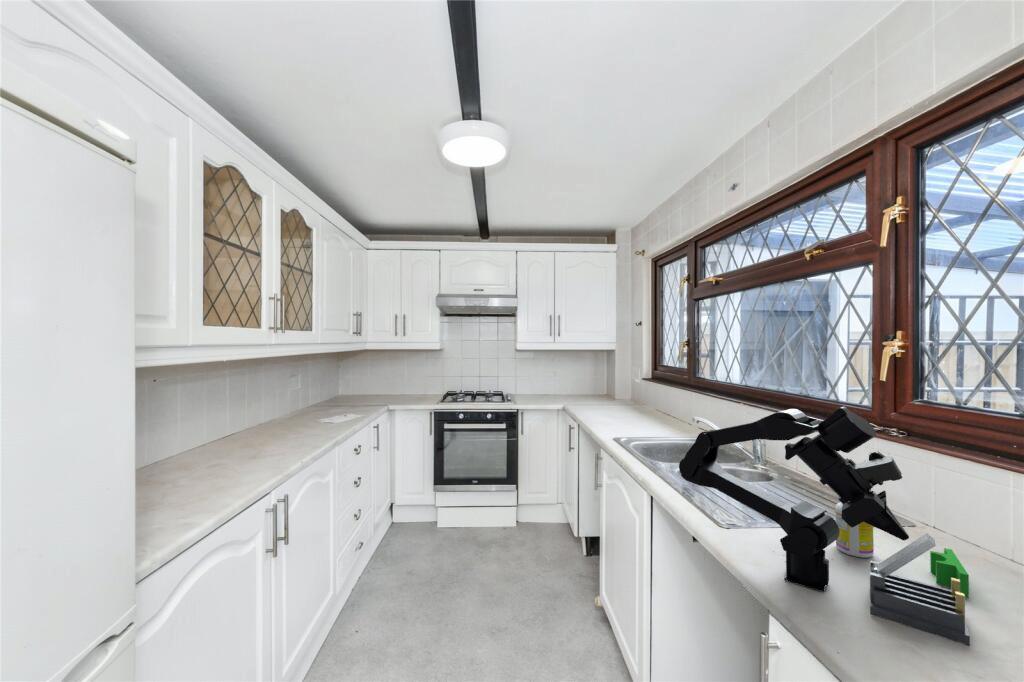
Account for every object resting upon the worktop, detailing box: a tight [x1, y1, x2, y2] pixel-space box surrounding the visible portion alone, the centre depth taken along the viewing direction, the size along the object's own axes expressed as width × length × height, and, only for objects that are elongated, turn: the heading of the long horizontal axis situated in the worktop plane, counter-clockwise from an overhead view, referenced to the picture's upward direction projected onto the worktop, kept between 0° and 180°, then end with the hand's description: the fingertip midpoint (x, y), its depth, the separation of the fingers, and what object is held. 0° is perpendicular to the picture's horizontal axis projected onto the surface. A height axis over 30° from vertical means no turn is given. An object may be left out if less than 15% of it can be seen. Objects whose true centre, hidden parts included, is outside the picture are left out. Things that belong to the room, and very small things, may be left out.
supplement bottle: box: [834, 501, 875, 559], centre depth 96 cm, size 7×7×13 cm
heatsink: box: [869, 560, 971, 646], centre depth 74 cm, size 12×10×7 cm
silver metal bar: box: [870, 533, 937, 577], centre depth 75 cm, size 12×4×2 cm
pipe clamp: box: [929, 547, 970, 599], centre depth 84 cm, size 11×4×5 cm, turn 145°
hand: (906, 538), depth 75 cm, fingers closed
